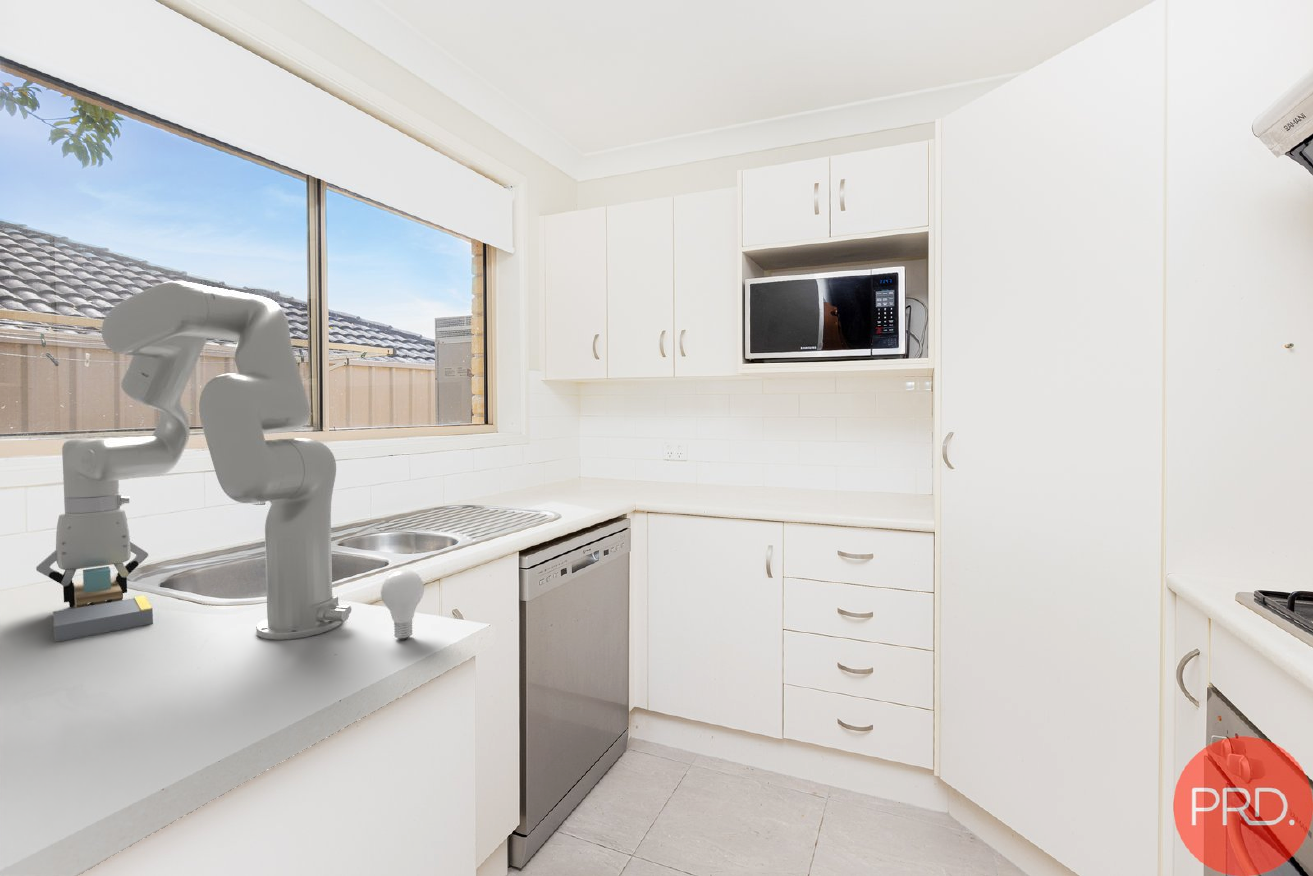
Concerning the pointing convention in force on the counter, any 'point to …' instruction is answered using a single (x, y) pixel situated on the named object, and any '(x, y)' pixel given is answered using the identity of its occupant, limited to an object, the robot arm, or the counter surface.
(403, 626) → the lightbulb
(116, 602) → the dock
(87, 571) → the block
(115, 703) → the counter surface
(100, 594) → the pallet
